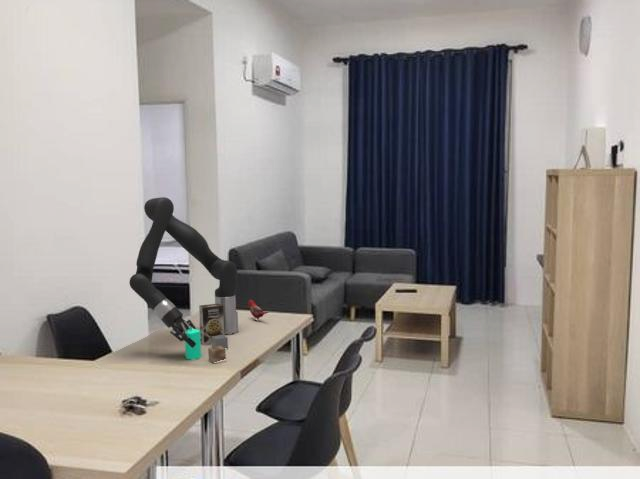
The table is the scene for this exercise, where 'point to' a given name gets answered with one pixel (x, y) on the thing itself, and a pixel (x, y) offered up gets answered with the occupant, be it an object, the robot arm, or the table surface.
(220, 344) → the gray cube
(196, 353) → the candle
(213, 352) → the walnut block
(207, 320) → the coffee box
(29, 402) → the table surface
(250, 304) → the decorative bird figurine
